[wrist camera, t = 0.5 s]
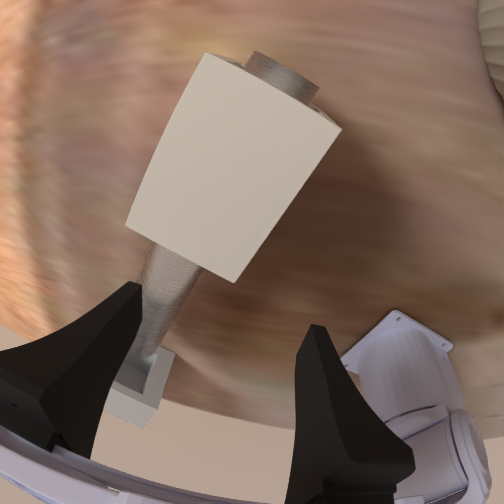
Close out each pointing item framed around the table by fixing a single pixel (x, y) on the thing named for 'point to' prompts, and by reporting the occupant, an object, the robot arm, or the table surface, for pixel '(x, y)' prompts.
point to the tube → (177, 267)
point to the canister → (492, 39)
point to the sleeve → (228, 166)
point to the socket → (139, 387)
